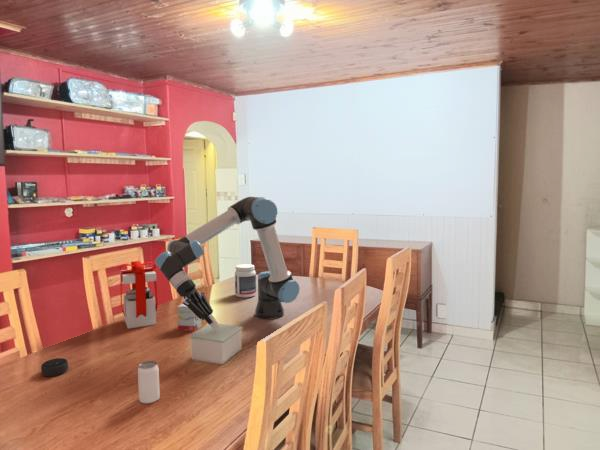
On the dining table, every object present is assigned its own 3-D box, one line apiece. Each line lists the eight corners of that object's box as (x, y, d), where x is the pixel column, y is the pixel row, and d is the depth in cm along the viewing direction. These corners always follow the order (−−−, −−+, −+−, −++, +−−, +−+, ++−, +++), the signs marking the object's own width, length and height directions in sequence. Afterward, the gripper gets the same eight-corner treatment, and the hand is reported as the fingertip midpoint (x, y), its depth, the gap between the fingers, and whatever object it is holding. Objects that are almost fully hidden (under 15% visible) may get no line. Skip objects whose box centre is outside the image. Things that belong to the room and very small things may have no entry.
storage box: (191, 359, 179) (191, 338, 178) (212, 345, 194) (211, 325, 193) (222, 364, 174) (222, 342, 173) (241, 349, 189) (241, 328, 188)
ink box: (194, 331, 211) (193, 307, 209) (177, 330, 213) (176, 306, 211) (201, 325, 219) (201, 302, 218) (185, 324, 221) (184, 301, 220)
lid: (189, 337, 178) (189, 335, 177) (211, 324, 193) (211, 322, 193) (222, 343, 173) (222, 341, 173) (242, 328, 188) (242, 327, 188)
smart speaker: (50, 379, 162) (49, 369, 162) (36, 374, 167) (35, 363, 167) (73, 370, 170) (72, 360, 169) (60, 365, 174) (59, 355, 174)
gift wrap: (124, 330, 213) (120, 268, 209) (120, 320, 228) (117, 262, 224) (160, 324, 220) (158, 264, 217) (154, 315, 236) (152, 259, 232)
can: (142, 394, 151) (140, 360, 149) (161, 394, 151) (160, 359, 150) (136, 404, 144) (135, 369, 143) (157, 403, 145) (155, 368, 144)
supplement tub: (260, 294, 275) (260, 265, 273) (247, 299, 264) (246, 268, 262) (244, 291, 282) (243, 262, 280) (230, 296, 271) (230, 266, 269)
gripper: (186, 286, 193) (220, 329, 189) (167, 293, 181) (203, 339, 177) (197, 275, 191) (231, 319, 187) (179, 281, 179) (215, 328, 175)
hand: (217, 328), depth 182 cm, fingers closed
